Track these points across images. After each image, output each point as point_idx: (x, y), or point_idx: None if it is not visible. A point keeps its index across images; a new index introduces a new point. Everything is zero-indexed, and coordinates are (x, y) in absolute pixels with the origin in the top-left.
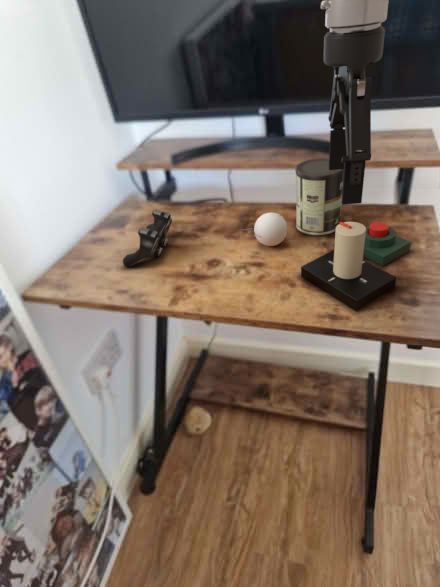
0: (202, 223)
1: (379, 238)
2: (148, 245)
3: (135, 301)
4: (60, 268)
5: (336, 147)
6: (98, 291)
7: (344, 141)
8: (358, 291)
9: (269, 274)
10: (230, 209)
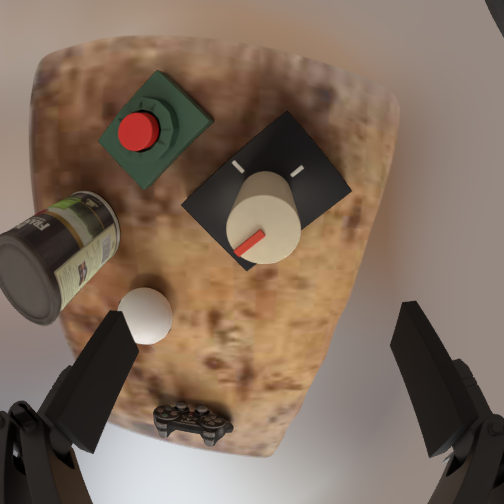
0: None
1: (164, 129)
2: (222, 430)
3: (290, 410)
4: (233, 450)
5: (102, 393)
6: (270, 431)
7: (81, 390)
8: (328, 185)
9: (240, 303)
10: (81, 341)
